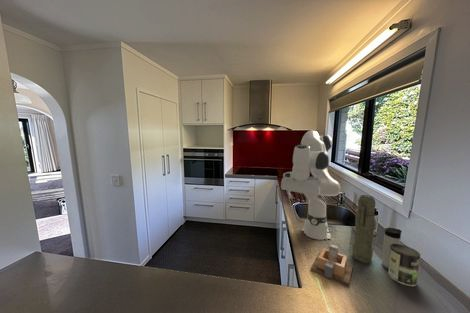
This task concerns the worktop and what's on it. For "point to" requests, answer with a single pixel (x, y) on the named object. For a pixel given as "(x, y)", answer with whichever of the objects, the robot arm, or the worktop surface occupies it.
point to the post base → (335, 277)
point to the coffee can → (403, 264)
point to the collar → (332, 264)
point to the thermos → (364, 229)
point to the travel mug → (389, 243)
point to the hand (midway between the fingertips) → (299, 200)
